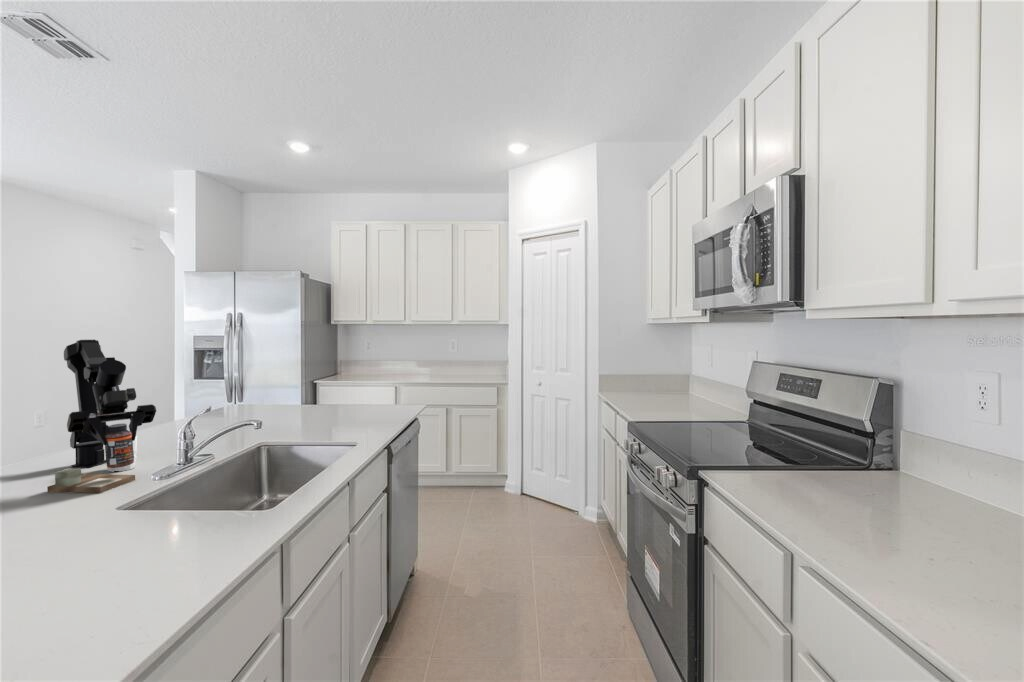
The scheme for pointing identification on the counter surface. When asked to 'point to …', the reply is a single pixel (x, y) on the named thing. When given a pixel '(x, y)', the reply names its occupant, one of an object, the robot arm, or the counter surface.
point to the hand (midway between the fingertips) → (119, 441)
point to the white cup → (130, 464)
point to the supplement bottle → (119, 446)
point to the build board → (86, 481)
